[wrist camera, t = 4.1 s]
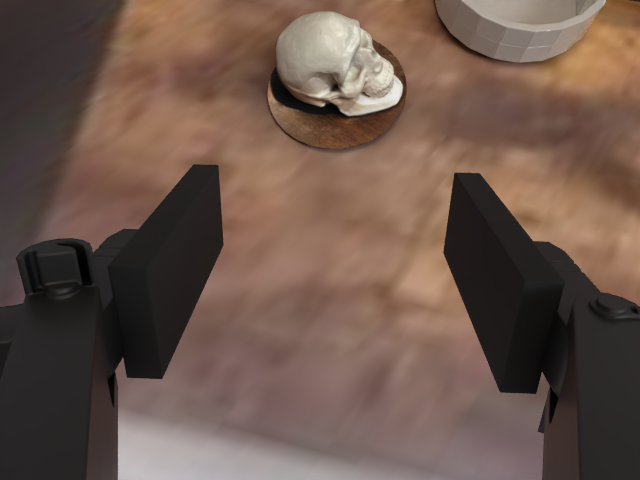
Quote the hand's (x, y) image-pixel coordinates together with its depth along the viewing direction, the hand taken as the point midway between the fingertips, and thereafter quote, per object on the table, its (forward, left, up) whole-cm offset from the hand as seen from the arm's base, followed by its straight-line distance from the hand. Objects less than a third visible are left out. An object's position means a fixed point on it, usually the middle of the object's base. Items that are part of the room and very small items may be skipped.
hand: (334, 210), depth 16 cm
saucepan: (+10, +34, -24) cm, 43 cm away
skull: (-4, +21, -24) cm, 32 cm away
